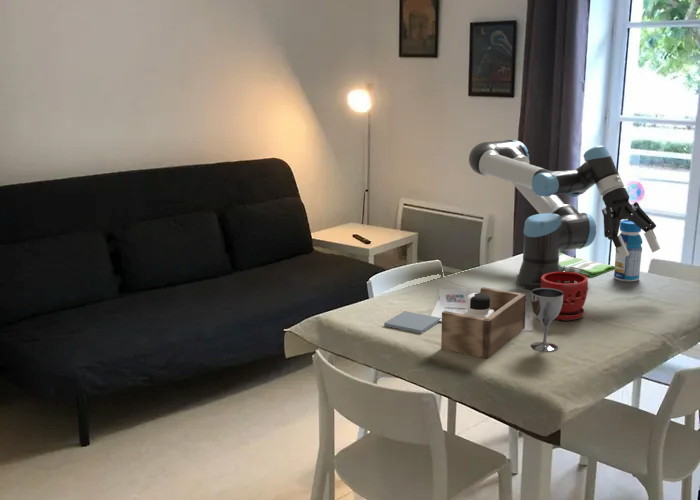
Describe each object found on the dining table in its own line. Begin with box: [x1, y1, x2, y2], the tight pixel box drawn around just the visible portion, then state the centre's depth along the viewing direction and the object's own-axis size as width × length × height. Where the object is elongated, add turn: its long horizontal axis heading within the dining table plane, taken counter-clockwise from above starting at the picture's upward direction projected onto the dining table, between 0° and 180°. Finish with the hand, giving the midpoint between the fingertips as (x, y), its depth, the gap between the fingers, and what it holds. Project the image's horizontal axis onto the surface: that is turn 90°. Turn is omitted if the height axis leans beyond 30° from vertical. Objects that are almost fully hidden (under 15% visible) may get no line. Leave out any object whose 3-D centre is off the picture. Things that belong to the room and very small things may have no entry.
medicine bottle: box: [462, 292, 494, 318], centre depth 201 cm, size 7×7×12 cm
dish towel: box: [559, 252, 615, 279], centre depth 268 cm, size 17×23×4 cm
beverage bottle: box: [613, 219, 643, 283], centre depth 251 cm, size 8×8×20 cm
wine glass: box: [530, 288, 563, 353], centre depth 192 cm, size 8×8×15 cm
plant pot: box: [541, 271, 589, 321], centre depth 216 cm, size 13×13×12 cm
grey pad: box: [383, 310, 442, 334], centre depth 213 cm, size 12×12×1 cm
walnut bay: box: [440, 286, 527, 359], centre depth 200 cm, size 13×26×10 cm, turn 147°
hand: (641, 253), depth 226 cm, fingers open, 13 cm apart
